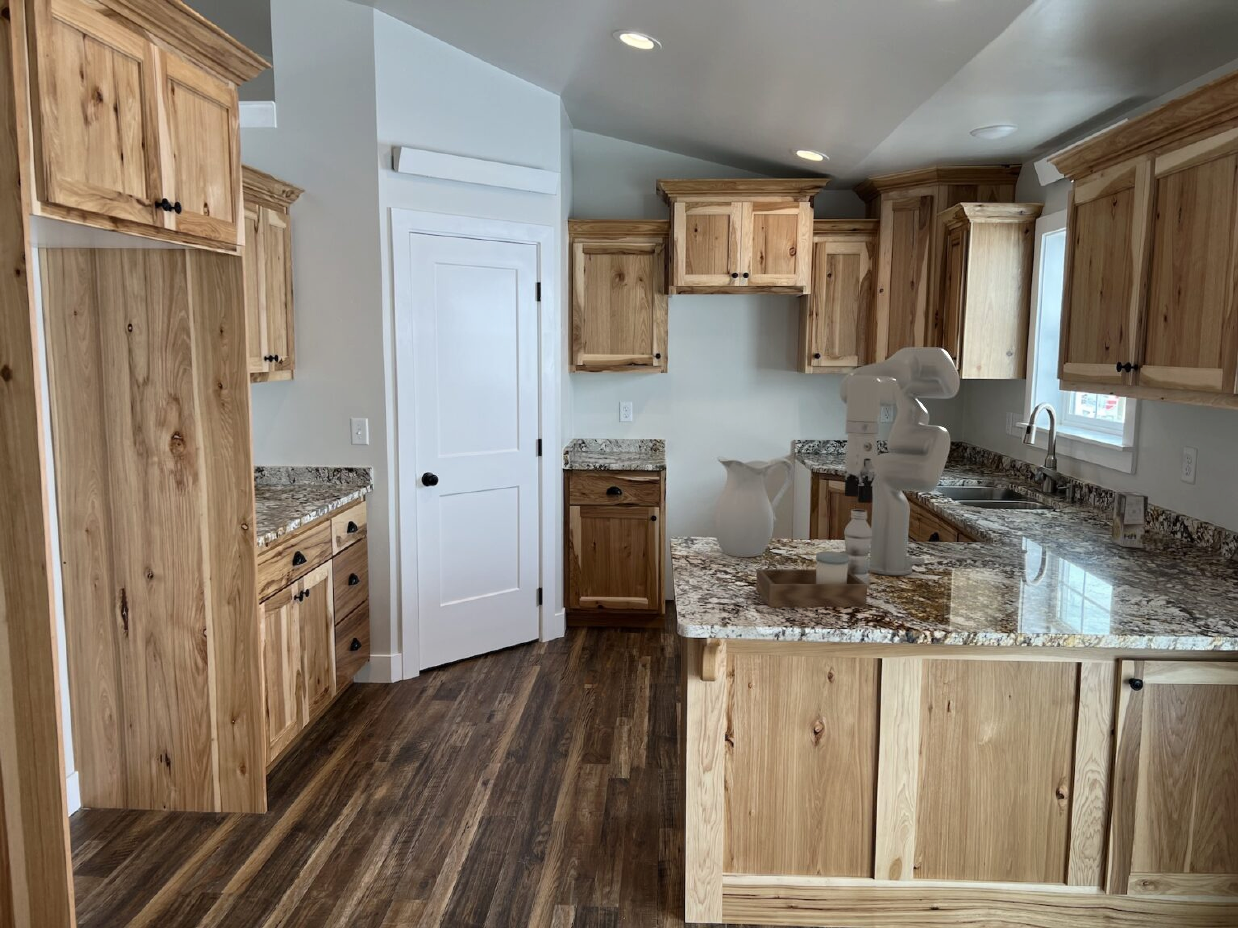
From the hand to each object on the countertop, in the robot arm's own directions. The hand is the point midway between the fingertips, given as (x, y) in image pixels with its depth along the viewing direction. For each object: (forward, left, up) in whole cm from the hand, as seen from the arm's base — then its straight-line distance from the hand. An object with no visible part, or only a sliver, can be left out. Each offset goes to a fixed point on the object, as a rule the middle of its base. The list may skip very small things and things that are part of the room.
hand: (857, 499), depth 204 cm
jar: (+9, +9, -22) cm, 25 cm away
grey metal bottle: (0, 0, -23) cm, 23 cm away
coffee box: (-105, -51, -23) cm, 119 cm away
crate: (+14, +9, -23) cm, 28 cm away
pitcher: (+16, -40, -23) cm, 48 cm away
